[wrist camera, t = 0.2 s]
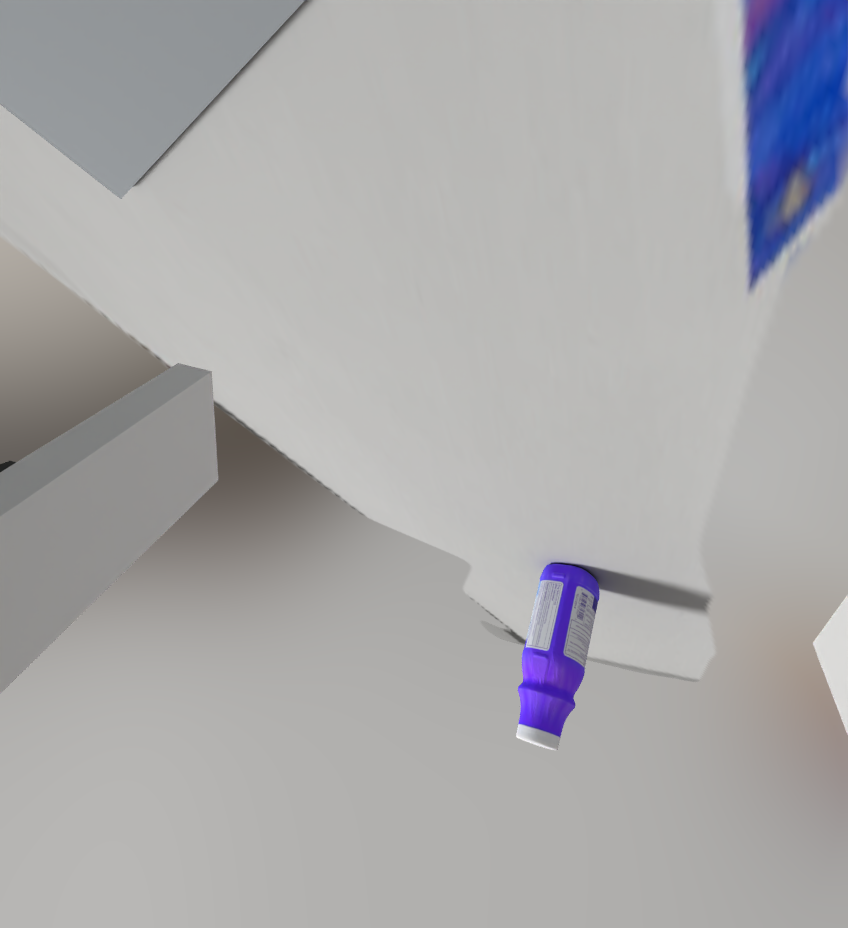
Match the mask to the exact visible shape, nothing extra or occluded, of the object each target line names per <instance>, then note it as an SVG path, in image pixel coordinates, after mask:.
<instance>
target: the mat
mask: <svg viewBox="0 0 848 928" xmlns="http://www.w3.org/2000/svg"><path fill="white" fill-rule="evenodd" d="M304 1H305V0H0V104H1V105H2V106H3V107H4V108H6V109H7V110H8V111H9V112H11V113H12V114H13V115H15V116H16V117H17V118H18V119H20V120H21V121H22V122H23V123H25V124H26V125H27V126H28V127H30V128H31V129H32V130H34V131H35V132H36V133H37V134H39V135H40V136H41V137H42V138H44V139H45V140H46V141H48V142H49V143H50V144H51V145H53V146H54V147H55V148H56V149H58V150H59V151H60V152H62V153H63V154H64V155H65V156H67V157H68V158H69V159H70V160H72V161H73V162H74V163H76V164H77V165H78V166H79V167H81V168H82V169H83V170H84V171H86V172H87V173H88V174H89V175H91V176H92V177H93V178H95V179H96V180H97V181H98V182H100V183H101V184H102V185H103V186H105V187H106V188H107V189H109V190H110V191H111V192H112V193H114V194H115V195H116V196H117V197H119V198H120V199H122V197H123V196H124V195H125V194H126V193H127V192H128V191H129V190H130V189H131V188H132V187H133V186H134V184H135V183H136V182H137V181H138V180H139V179H140V178H141V177H142V176H143V175H144V174H145V173H146V172H147V170H148V169H149V168H150V167H151V166H152V165H153V164H154V163H155V162H156V161H157V160H158V159H159V157H160V156H161V155H162V154H163V153H164V152H165V151H166V150H167V149H168V148H169V147H170V146H171V145H172V143H173V142H174V141H175V140H176V139H177V138H178V137H179V136H180V135H181V134H182V133H183V132H184V130H185V129H186V128H187V127H188V126H189V125H190V124H191V123H192V122H193V121H194V120H195V119H196V118H197V116H198V115H199V114H200V113H201V112H202V111H203V110H204V109H205V108H206V107H207V106H208V105H209V103H210V102H211V101H212V100H213V99H214V98H215V97H216V96H217V95H218V94H219V93H220V92H221V91H222V89H223V88H224V87H225V86H226V85H227V84H228V83H229V82H230V81H231V80H232V79H233V78H234V76H235V75H236V74H237V73H238V72H239V71H240V70H241V69H242V68H243V67H244V66H245V65H246V64H247V62H248V61H249V60H250V59H251V58H252V57H253V56H254V55H255V54H256V53H257V52H258V51H259V49H260V48H261V47H262V46H263V45H264V44H265V43H266V42H267V41H268V40H269V39H270V38H271V37H272V35H273V34H274V33H275V32H276V31H277V30H278V29H279V28H280V27H281V26H282V25H283V24H284V22H285V21H286V20H287V19H288V18H289V17H290V16H291V15H292V14H293V13H294V12H295V11H296V10H297V8H298V7H299V6H300V5H301V4H302V3H303V2H304Z"/></svg>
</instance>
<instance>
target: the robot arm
mask: <svg viewBox="0 0 848 928" xmlns="http://www.w3.org/2000/svg"><path fill="white" fill-rule="evenodd" d="M217 481H218V467H217V451H216V435H215V419H214V403H213V387H212V371H208V370H204V369H200V368H195V367H191V366H187V365H183V364H179V363H178V364H176V365H174V366H173V367H171V368H170V369H168V370H166V371H165V372H163V373H162V374H160V375H158V376H157V377H155V378H153V379H152V380H150V381H149V382H147V383H145V384H144V385H142V386H141V387H139V388H137V389H135V390H134V391H132V392H130V393H129V394H127V395H126V396H124V397H122V398H121V399H119V400H118V401H116V402H114V403H113V404H111V405H110V406H108V407H106V408H105V409H103V410H101V411H100V412H98V413H96V414H95V415H93V416H92V417H90V418H88V419H87V420H85V421H83V422H82V423H80V424H78V425H77V426H75V427H74V428H72V429H70V430H69V431H67V432H65V433H64V434H62V435H60V436H59V437H57V438H56V439H54V440H52V441H51V442H49V443H48V444H46V445H44V446H42V447H41V448H39V449H38V450H36V451H35V452H33V453H31V454H29V455H28V456H26V457H25V458H23V459H21V460H20V461H18V462H12V461H9V462H5V463H3V464H0V693H1V692H2V691H3V690H5V689H6V688H7V687H8V686H9V685H10V683H12V682H13V681H14V680H15V679H16V678H17V676H19V675H20V674H21V673H22V672H23V671H24V670H25V669H26V668H27V667H28V666H29V665H30V664H31V663H32V662H33V661H34V660H35V659H36V658H37V657H38V656H39V655H40V654H41V653H42V652H43V651H44V650H45V649H46V648H47V647H48V646H49V645H50V644H51V643H53V641H55V640H56V638H57V637H59V635H61V634H62V633H63V632H64V631H65V630H66V629H67V628H68V627H69V626H70V625H71V624H72V623H73V622H74V621H75V620H76V619H77V618H78V617H79V616H80V615H81V614H82V613H83V612H84V611H85V610H86V609H87V608H88V607H89V606H90V605H91V604H92V603H93V602H94V601H95V600H96V599H97V598H98V597H99V596H101V594H103V593H104V592H105V590H107V589H108V588H109V587H110V586H111V585H112V584H113V583H114V582H115V581H116V580H117V579H118V578H119V577H120V576H121V575H122V574H123V573H124V572H125V571H126V570H127V569H128V568H129V567H130V566H131V565H132V564H133V563H134V562H135V561H136V560H137V559H138V558H139V557H140V556H141V555H142V554H143V553H144V552H145V551H146V550H147V549H148V548H150V547H151V545H153V544H154V543H155V542H156V541H157V540H158V539H159V538H160V537H161V536H162V535H163V534H164V533H165V532H166V531H167V530H168V529H169V528H170V527H171V526H172V525H173V524H174V523H175V522H176V521H177V520H178V519H179V518H180V517H181V516H182V515H183V514H184V513H185V512H186V511H187V510H188V509H189V508H190V507H191V506H192V505H193V504H194V503H195V502H196V501H197V500H199V499H200V497H201V496H203V495H204V494H205V493H206V492H207V491H208V490H209V489H210V488H211V487H212V486H213V485H214V484H215V483H216V482H217ZM813 645H814V647H815V650H816V653H817V656H818V658H819V661H820V664H821V666H822V669H823V671H824V674H825V676H826V679H827V682H828V684H829V687H830V690H831V692H832V695H833V698H834V700H835V703H836V705H837V708H838V711H839V713H840V716H841V718H842V721H843V724H844V726H845V729H846V731H847V734H848V595H847V596H846V598H845V599H844V601H843V602H842V604H841V605H840V606H839V608H838V609H837V610H836V612H835V613H834V614H833V616H832V617H831V619H830V620H829V621H828V623H827V624H826V625H825V627H824V628H823V630H822V631H821V633H820V634H819V635H818V637H817V638H816V639H815V641H814V642H813Z"/></svg>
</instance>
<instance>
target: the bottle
mask: <svg viewBox="0 0 848 928" xmlns="http://www.w3.org/2000/svg"><path fill="white" fill-rule="evenodd" d="M598 600H599V586H598V583H597V581H596V580H595V578H594V577H593V576H592V575H591V574H589V573H588V572H587V571H585V570H584V569H582V568H579V567H576V566H572V565H564V564H549V565H547V566H546V567H545V569H544V570H543V572H542V575H541V577H540V583H539V587H538V591H537V595H536V600H535V604H534V608H533V613H532V617H531V622H530V626H529V630H528V634H527V639H526V643H525V647H524V650H523V654H522V669H523V683H522V684H521V685H520V686H519V687H518V692H519V696H520V701H521V713H520V720H519V724H518V729H517V734H516V737H517V738H519V739H521V740H524V741H526V742H529V743H532V744H535V745H538V746H541V747H544V748H548V749H552V750H558V745H559V741H560V736H561V732H562V728H563V725H564V722H565V720H566V718H567V716H568V715H569V714H570V712H571V711H572V710H573V709H574V708H575V702H574V699H573V697H574V694H575V692H576V691H577V689H578V688H579V686H580V684H581V682H582V679H583V676H584V669H585V664H586V659H587V654H588V649H589V644H590V639H591V633H592V628H593V623H594V619H595V614H596V609H597V604H598Z"/></svg>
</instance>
